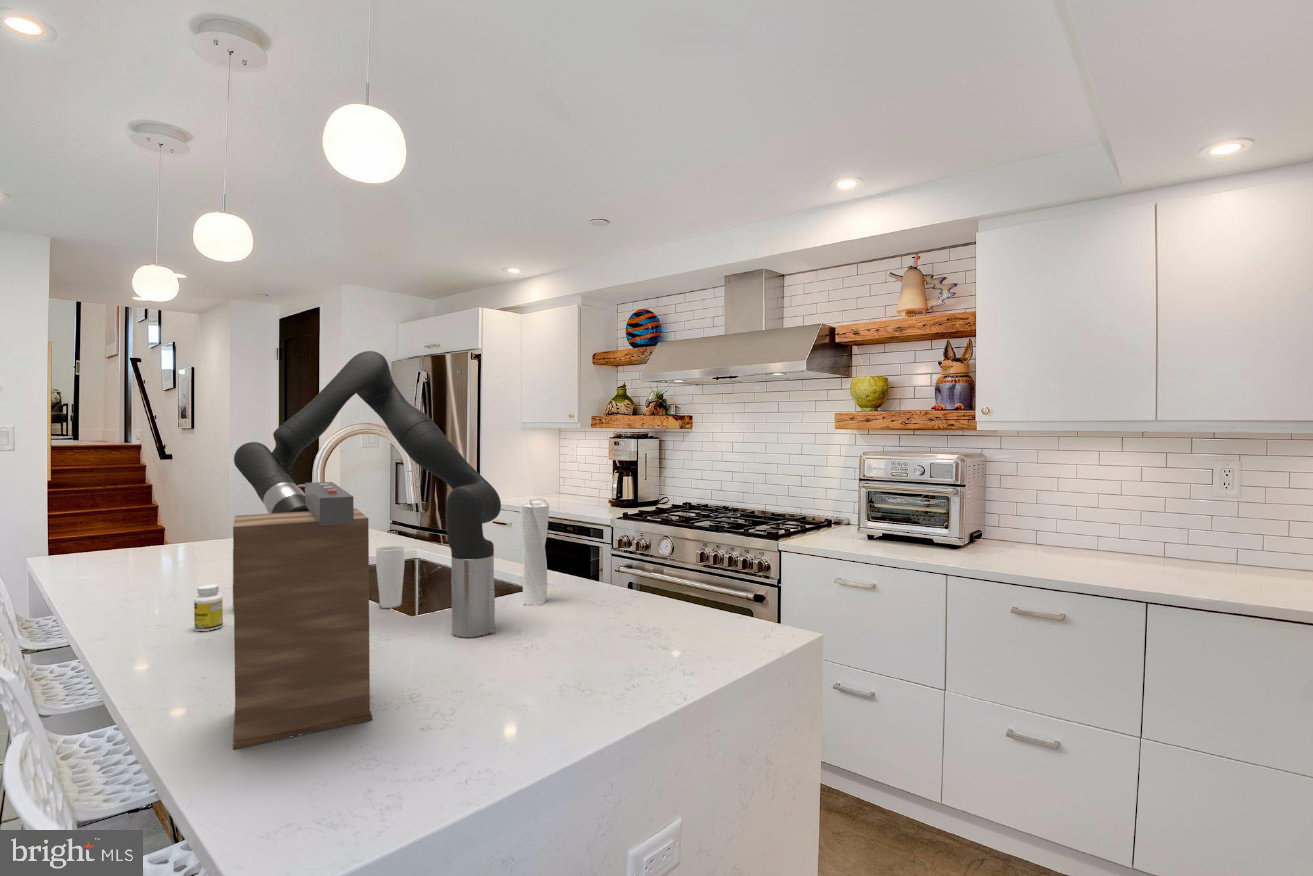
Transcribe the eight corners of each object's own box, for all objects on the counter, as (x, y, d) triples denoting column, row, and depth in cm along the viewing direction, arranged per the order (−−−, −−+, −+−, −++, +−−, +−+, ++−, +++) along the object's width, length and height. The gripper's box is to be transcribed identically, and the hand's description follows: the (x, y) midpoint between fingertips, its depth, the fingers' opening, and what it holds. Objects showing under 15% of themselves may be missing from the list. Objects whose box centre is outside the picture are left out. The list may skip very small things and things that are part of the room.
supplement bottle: (188, 630, 152) (188, 587, 152) (212, 624, 157) (212, 582, 157) (204, 633, 150) (204, 590, 150) (228, 626, 155) (227, 584, 155)
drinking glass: (377, 611, 168) (377, 551, 168) (375, 604, 174) (374, 547, 174) (406, 607, 171) (405, 549, 171) (402, 601, 177) (402, 544, 177)
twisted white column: (546, 607, 172) (546, 498, 172) (517, 606, 172) (517, 498, 172) (551, 599, 180) (551, 494, 180) (523, 598, 180) (523, 494, 180)
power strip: (305, 504, 123) (304, 480, 123) (332, 503, 126) (332, 479, 125) (319, 525, 98) (319, 494, 97) (353, 523, 100) (353, 493, 100)
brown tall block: (234, 712, 109) (232, 515, 108) (359, 689, 119) (357, 508, 118) (233, 749, 96) (230, 527, 96) (372, 720, 106) (370, 518, 106)
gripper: (326, 510, 144) (362, 556, 136) (254, 534, 135) (287, 585, 127) (325, 483, 140) (361, 529, 132) (250, 505, 131) (285, 556, 123)
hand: (325, 556), depth 129 cm, fingers open, 8 cm apart
